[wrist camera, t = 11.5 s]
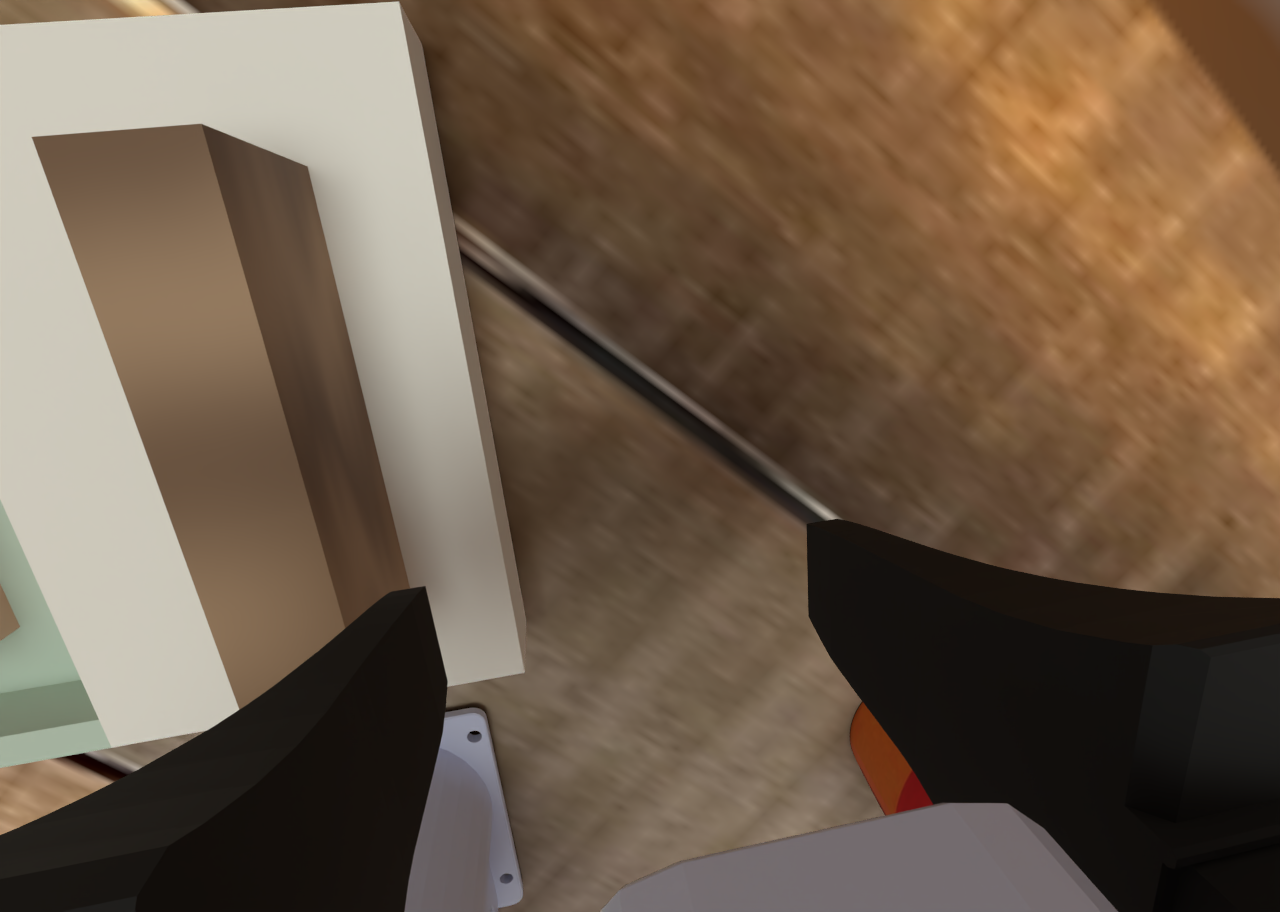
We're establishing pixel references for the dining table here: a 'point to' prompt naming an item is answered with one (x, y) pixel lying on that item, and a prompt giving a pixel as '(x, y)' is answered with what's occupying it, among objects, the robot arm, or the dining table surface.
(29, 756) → the tray
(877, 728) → the paper cup
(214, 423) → the bar
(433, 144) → the bench
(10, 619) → the tile
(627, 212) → the dining table surface
